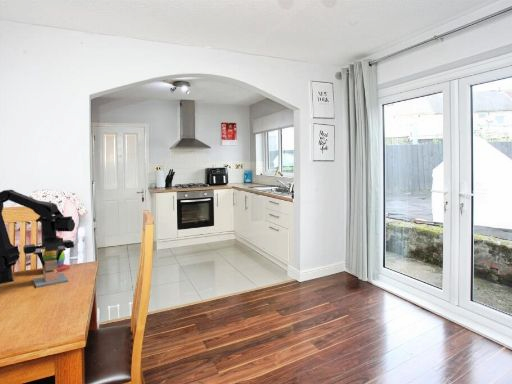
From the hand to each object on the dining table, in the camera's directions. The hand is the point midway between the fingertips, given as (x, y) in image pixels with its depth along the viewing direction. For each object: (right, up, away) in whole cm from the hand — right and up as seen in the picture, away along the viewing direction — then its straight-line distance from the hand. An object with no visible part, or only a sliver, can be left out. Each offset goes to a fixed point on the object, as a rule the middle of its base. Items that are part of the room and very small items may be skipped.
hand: (50, 265), depth 143 cm
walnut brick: (0, -2, 0) cm, 2 cm away
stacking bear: (-8, -6, +15) cm, 18 cm away
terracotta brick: (0, -7, +1) cm, 7 cm away
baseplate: (0, -7, +1) cm, 7 cm away
